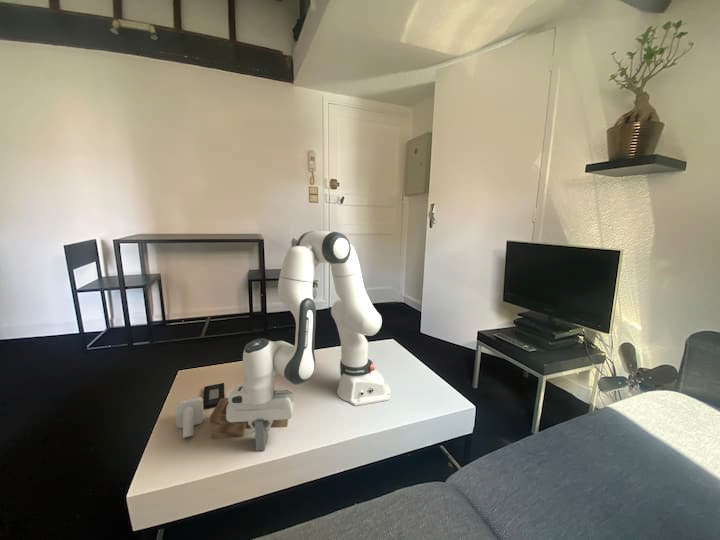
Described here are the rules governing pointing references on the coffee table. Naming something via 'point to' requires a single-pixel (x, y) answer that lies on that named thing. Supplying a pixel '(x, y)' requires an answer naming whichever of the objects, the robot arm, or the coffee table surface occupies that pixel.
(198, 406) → the wall hook
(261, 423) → the grey wood block
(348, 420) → the coffee table surface
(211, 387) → the vhs tape
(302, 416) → the coffee table surface
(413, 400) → the coffee table surface
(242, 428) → the slotted wooden socket block
